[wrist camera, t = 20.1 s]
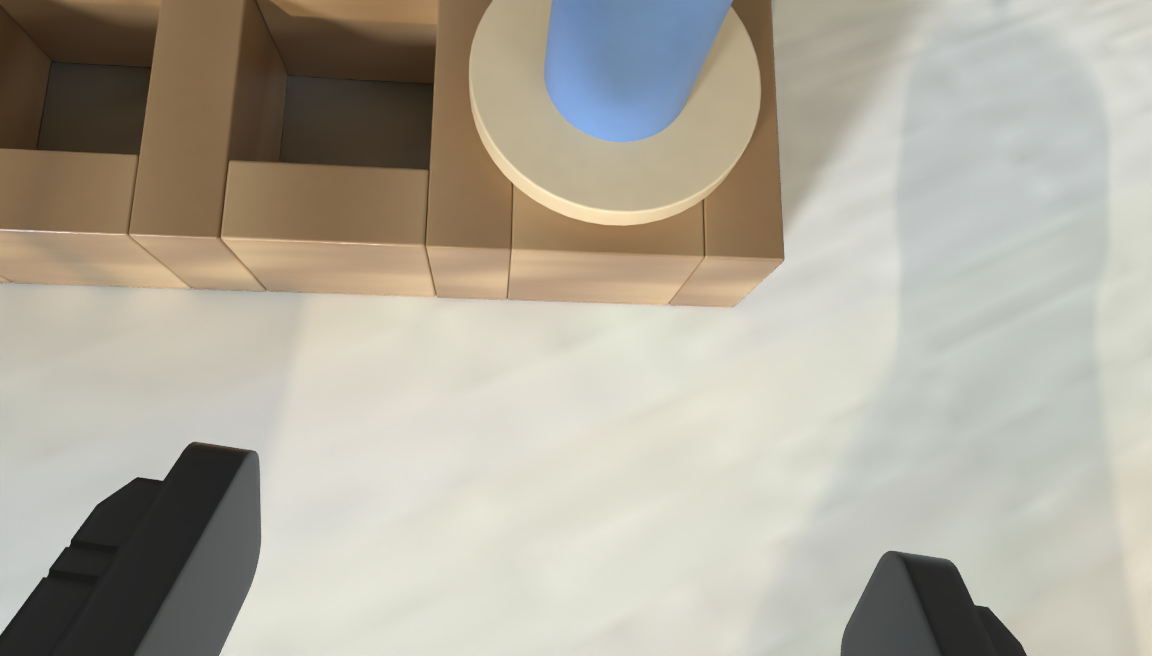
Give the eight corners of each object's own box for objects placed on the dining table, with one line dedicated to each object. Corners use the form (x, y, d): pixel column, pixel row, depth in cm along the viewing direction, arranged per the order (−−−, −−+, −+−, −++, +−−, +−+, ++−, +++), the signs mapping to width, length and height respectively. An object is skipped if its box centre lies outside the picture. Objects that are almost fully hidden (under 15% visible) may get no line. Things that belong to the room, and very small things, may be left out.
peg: (436, 222, 22) (362, -213, 9) (519, 13, 23) (557, -603, 11) (674, 306, 22) (932, -8, 9) (741, 92, 23) (1039, -426, 11)
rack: (-64, 280, 21) (-192, 223, 17) (-10, -3, 23) (-113, -114, 19) (734, 307, 23) (785, 261, 19) (725, 44, 24) (769, -49, 21)
